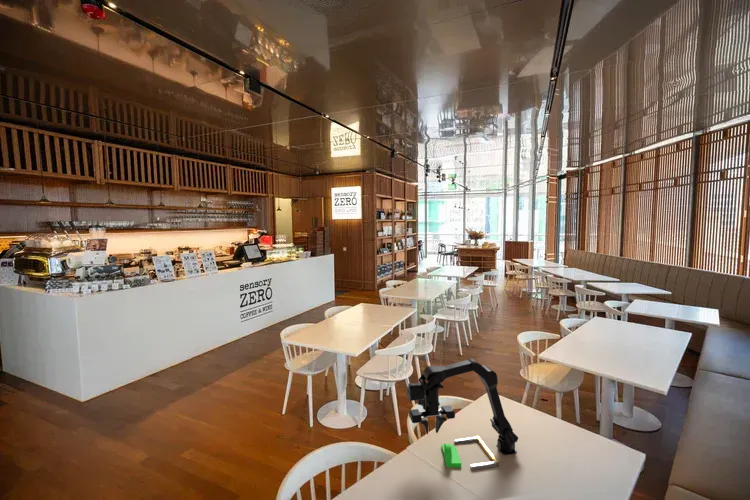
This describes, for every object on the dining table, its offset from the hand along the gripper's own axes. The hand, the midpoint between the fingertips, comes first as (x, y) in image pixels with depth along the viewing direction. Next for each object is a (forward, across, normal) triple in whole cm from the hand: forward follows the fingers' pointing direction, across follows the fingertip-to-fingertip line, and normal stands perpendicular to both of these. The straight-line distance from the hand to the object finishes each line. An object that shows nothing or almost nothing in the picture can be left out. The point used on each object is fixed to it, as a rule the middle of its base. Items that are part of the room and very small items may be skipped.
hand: (431, 433), depth 140 cm
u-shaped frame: (+12, -20, 0) cm, 23 cm away
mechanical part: (+12, -9, 0) cm, 15 cm away
